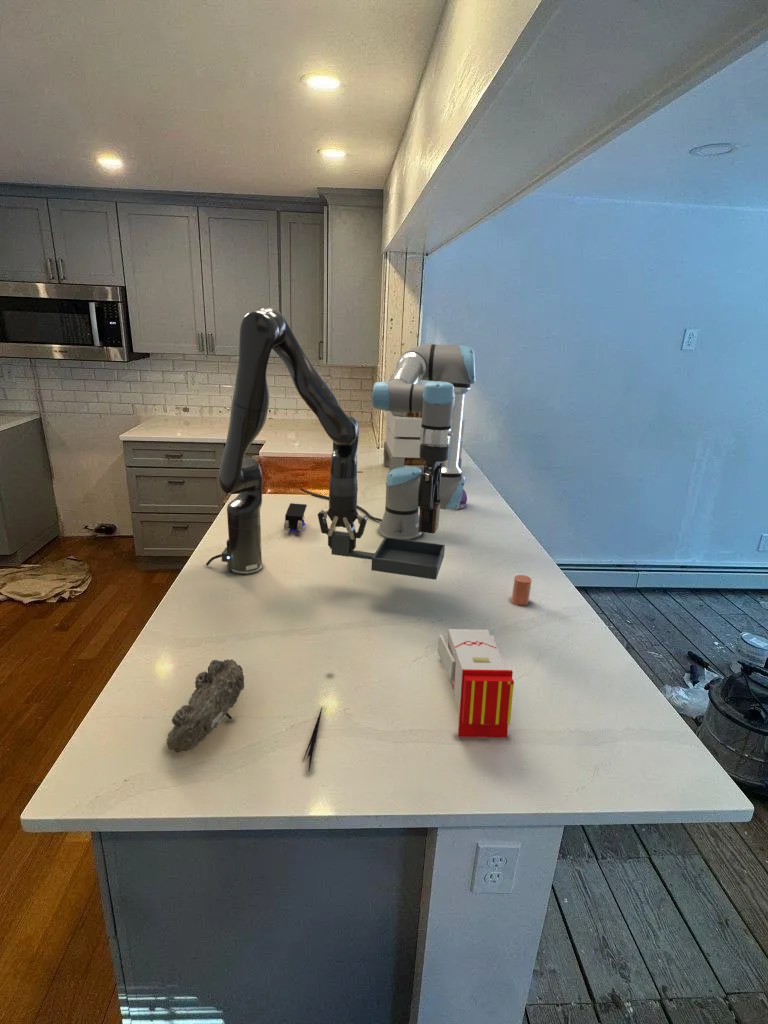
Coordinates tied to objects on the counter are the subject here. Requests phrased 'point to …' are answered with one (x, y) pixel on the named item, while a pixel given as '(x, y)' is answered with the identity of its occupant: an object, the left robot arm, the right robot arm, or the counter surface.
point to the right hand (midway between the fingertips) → (428, 528)
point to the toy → (478, 682)
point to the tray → (396, 555)
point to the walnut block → (434, 521)
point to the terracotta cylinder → (521, 590)
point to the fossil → (206, 705)
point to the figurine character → (295, 517)
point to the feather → (313, 740)
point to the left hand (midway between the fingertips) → (341, 548)
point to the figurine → (463, 500)
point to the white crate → (406, 440)
